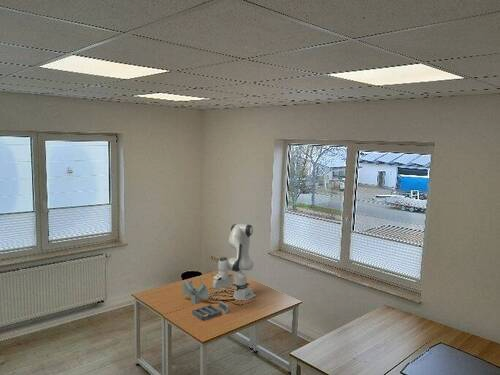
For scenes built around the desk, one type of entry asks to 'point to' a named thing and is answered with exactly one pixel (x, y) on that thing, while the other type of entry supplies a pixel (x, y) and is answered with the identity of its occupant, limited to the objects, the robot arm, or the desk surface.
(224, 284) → the robot arm
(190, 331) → the desk surface
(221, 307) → the panel
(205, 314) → the rack
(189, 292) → the bracket
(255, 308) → the desk surface
